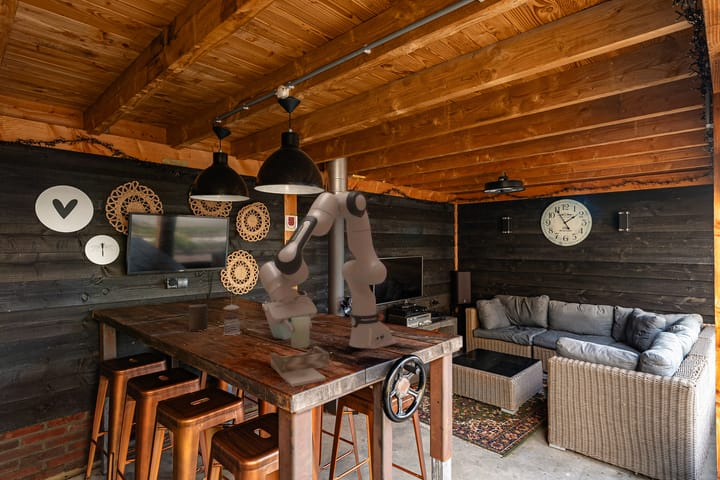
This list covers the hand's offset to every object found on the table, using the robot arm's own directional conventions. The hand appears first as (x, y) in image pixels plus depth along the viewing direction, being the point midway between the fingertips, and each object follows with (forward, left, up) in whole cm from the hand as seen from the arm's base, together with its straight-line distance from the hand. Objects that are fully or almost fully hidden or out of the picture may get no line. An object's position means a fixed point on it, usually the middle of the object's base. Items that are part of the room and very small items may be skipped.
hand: (301, 329), depth 136 cm
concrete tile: (0, +1, -17) cm, 17 cm away
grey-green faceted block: (-16, -61, -17) cm, 65 cm away
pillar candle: (+21, -103, -17) cm, 106 cm away
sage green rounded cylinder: (0, -1, -6) cm, 6 cm away
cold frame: (-4, -12, -17) cm, 21 cm away
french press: (+6, -83, -17) cm, 85 cm away
